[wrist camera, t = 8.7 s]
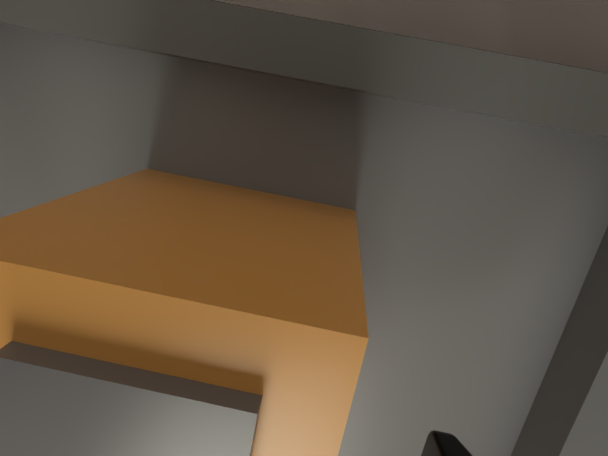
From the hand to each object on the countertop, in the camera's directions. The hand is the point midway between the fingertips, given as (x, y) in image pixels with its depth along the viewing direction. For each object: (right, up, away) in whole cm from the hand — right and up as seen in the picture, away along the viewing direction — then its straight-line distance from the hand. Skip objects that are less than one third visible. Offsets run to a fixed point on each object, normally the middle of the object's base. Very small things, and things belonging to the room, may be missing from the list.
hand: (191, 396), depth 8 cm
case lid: (0, +1, +4) cm, 4 cm away
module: (0, +1, +3) cm, 3 cm away
